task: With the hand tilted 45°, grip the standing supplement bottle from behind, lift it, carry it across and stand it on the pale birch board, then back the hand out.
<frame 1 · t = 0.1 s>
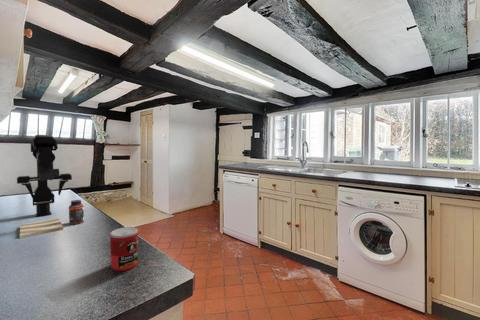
hand: (46, 196, 102), 15 cm above the countertop, tool pointing down, fingers open, 9 cm apart
birch board: (41, 228, 101), on the countertop
canned food: (125, 265, 69), on the countertop
supplement bottle: (76, 223, 109), on the countertop
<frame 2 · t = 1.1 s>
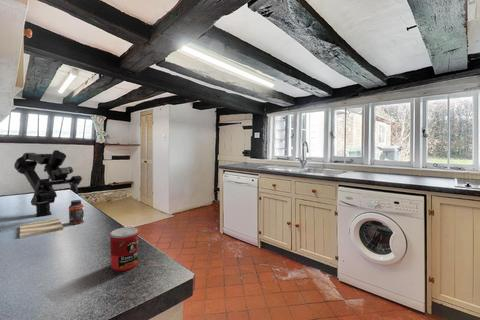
hand: (66, 194, 112), 13 cm above the countertop, tool tilted 45°, fingers open, 9 cm apart
nothing on the countertop moved.
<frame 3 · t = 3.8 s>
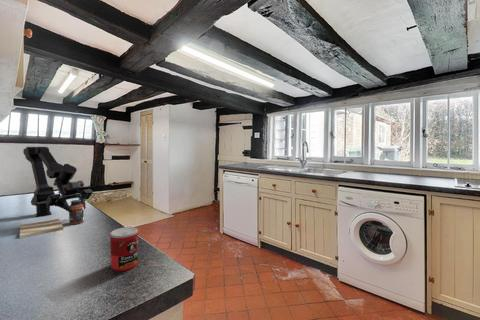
hand: (78, 210, 108), 7 cm above the countertop, tool tilted 45°, fingers closed on supplement bottle, 6 cm apart
supplement bottle: (76, 223, 109), on the countertop, touching gripper
everything else where it was.
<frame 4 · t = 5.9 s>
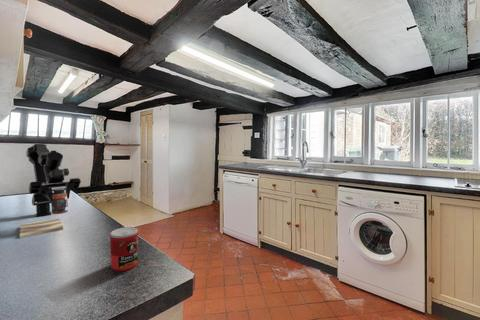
hand: (60, 199, 102), 13 cm above the countertop, tool tilted 45°, fingers closed on supplement bottle, 6 cm apart
supplement bottle: (60, 213, 104), point 6 cm above the countertop, touching gripper
everything else where it was.
when the fingers open (9 cm above the countertop, at t = 8.0 s): supplement bottle stays where it is, resting on birch board.
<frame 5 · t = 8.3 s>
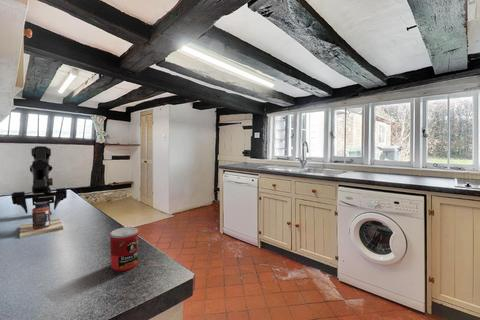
hand: (41, 211, 98), 9 cm above the countertop, tool tilted 45°, fingers open, 9 cm apart
supplement bottle: (41, 227, 99), point 1 cm above the countertop, touching birch board
everything else where it was.
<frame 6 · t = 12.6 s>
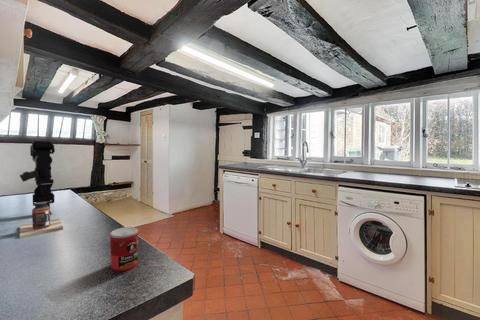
hand: (44, 196, 111), 13 cm above the countertop, tool pointing down, fingers open, 9 cm apart
nothing on the countertop moved.
at the end: supplement bottle inside the target area on the birch board (1.8 cm from its centre), point 1.0 cm above the birch board's base; supplement bottle tilted 0°; the gripper is holding nothing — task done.
